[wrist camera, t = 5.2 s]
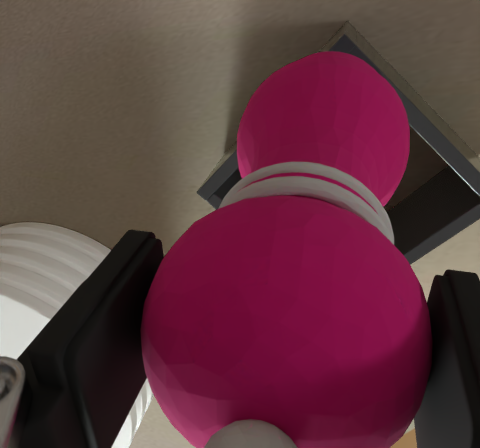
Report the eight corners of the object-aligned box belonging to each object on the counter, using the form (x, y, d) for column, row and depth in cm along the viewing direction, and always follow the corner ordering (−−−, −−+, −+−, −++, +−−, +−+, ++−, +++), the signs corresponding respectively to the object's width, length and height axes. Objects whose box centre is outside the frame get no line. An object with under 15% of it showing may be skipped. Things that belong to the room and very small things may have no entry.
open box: (347, 20, 33) (344, 33, 26) (479, 156, 36) (507, 200, 29) (223, 155, 41) (196, 192, 34) (339, 260, 43) (335, 314, 36)
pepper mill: (252, 44, 22) (-90, 323, 5) (408, 34, 20) (641, 405, 4) (262, 178, 26) (77, 600, 9) (395, 180, 24) (480, 709, 7)
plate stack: (70, 182, 46) (-8, 239, 36) (215, 370, 55) (184, 457, 45) (-74, 270, 58) (-161, 330, 48) (65, 413, 67) (15, 488, 57)
